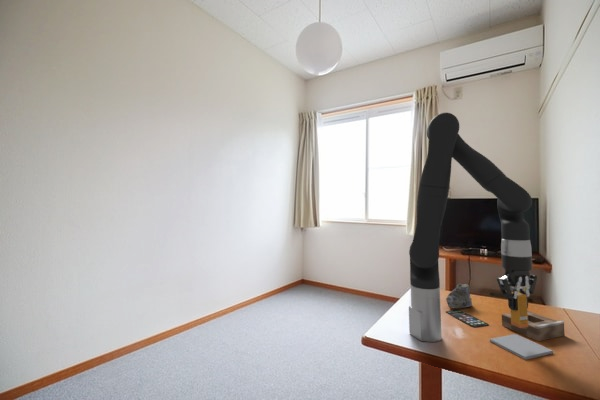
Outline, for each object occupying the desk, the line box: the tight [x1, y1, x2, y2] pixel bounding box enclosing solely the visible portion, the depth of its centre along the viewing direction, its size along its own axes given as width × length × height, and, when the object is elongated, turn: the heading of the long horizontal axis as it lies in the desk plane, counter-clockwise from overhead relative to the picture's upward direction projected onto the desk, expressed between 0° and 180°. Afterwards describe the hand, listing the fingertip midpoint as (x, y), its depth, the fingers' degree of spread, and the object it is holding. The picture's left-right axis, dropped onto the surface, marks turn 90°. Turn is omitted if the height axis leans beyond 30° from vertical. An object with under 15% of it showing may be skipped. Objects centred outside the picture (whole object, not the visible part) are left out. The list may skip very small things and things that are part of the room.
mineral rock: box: [445, 282, 473, 309], centre depth 120 cm, size 13×11×10 cm
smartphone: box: [445, 309, 490, 328], centre depth 108 cm, size 7×1×15 cm
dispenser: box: [501, 310, 566, 342], centre depth 96 cm, size 12×12×5 cm
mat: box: [489, 333, 554, 360], centre depth 86 cm, size 11×11×1 cm
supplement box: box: [509, 291, 528, 328], centre depth 86 cm, size 3×3×10 cm
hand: (518, 308), depth 86 cm, fingers closed on supplement box, 3 cm apart
